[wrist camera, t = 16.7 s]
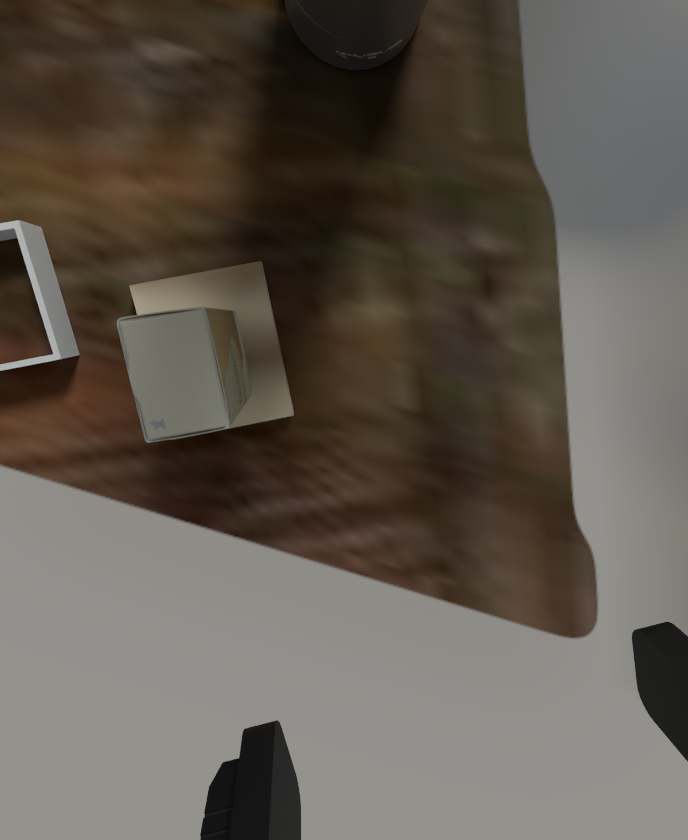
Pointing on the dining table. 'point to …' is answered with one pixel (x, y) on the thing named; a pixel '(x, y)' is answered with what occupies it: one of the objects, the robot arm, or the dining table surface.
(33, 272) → the gray square frame
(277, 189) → the dining table surface
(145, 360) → the skincare box
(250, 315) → the birch board
